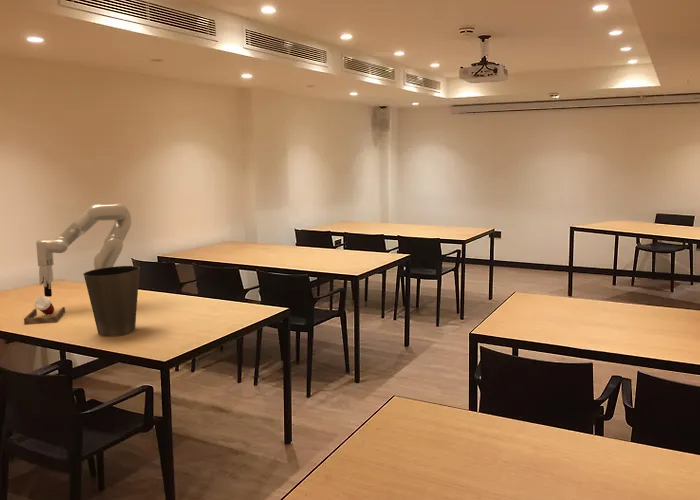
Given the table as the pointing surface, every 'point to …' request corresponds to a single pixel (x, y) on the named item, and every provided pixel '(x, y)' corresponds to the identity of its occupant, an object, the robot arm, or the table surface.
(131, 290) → the waste basket
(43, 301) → the paper cup
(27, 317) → the u rest
